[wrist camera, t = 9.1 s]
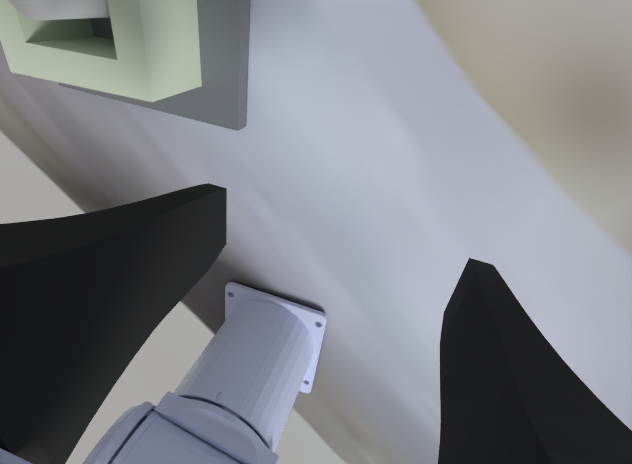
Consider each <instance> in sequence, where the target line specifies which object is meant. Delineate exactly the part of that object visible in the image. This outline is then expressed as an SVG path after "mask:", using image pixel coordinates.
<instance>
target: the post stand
mask: <svg viewBox="0 0 632 464" xmlns="http://www.w3.org/2000/svg"><path fill="white" fill-rule="evenodd" d="M9 1H10V3H11V4H12V5H13V6H14V7H15V8H16V9H17V10H18V11H19V12H20V13H22V14H23V15H25V16H26V17H28V18H30V19H33V20H60V19H85V18H91V23H92V28H93V33H94V36H95V37H101V38H106V39H112V40H114V37H113V31H112V25H111V19H110V13H109V7H108V1H107V0H9ZM197 13H198V30H199V47H200V64H201V81H202V86H201V87H197V88H194V89H191V90H188V91H185V92H182V93H179V94H176V95H173V96H170V97H167V98H164V99H161V100H158V101H155V102H149V101H144V100H139V99H135V98H130V97H125V96H121V95H116V94H111V93H107V92H102V91H97V90H93V89H88V88H83V87H79V86H74V85H69V84H65V83H60V82H58V83H59V85H60V86H64V87H68V88H72V89H76V90H80V91H84V92H87V93H91V94H95V95H99V96H103V97H107V98H111V99H115V100H119V101H123V102H127V103H131V104H135V105H139V106H143V107H147V108H151V109H154V110H158V111H162V112H166V113H170V114H174V115H178V116H182V117H186V118H190V119H194V120H198V121H202V122H206V123H210V124H214V125H218V126H221V127H225V128H229V129H233V130H237V131H238V130H240V129H241V128H243V127H245V126H246V113H247V83H248V53H249V24H250V0H197Z"/></svg>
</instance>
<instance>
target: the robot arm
mask: <svg viewBox="0 0 632 464" xmlns="http://www.w3.org/2000/svg"><path fill="white" fill-rule="evenodd" d="M225 245H226V188H223V187H219V186H216V185H212V184H209V183H208V184H202V185H197V186H193V187H189V188H185V189H182V190H178V191H175V192H171V193H167V194H164V195H160V196H157V197H153V198H149V199H146V200H142V201H138V202H134V203H130V204H126V205H122V206H118V207H114V208H109V209H105V210H100V211H96V212H90V213H85V214H79V215H74V216H67V217H61V218H55V219H45V220H37V221H27V222H18V223H9V224H0V464H65V463H66V461H67V459H68V458H69V456H70V455H71V453H72V451H73V449H74V448H75V446H76V444H77V443H78V441H79V440H80V438H81V436H82V435H83V433H84V431H85V430H86V428H87V426H88V425H89V423H90V421H91V420H92V418H93V417H94V415H95V414H96V412H97V411H98V409H99V408H100V406H101V405H102V403H103V401H104V400H105V398H106V397H107V395H108V394H109V392H110V391H111V389H112V387H113V386H114V384H115V383H116V382H117V380H118V379H119V377H120V376H121V375H122V373H123V372H124V370H125V369H126V367H127V366H128V365H129V363H130V362H131V360H132V359H133V357H134V356H135V355H136V353H137V352H138V351H139V349H140V348H141V347H142V345H143V344H144V343H145V341H146V340H147V338H148V337H149V336H150V334H151V333H152V332H153V330H154V329H155V328H156V327H157V326H158V324H159V323H160V322H161V321H162V320H163V319H164V317H165V316H166V315H167V314H168V313H169V312H170V311H171V310H172V309H173V308H174V306H176V304H177V303H178V302H179V301H180V300H181V299H182V298H183V297H184V296H185V295H186V294H187V293H188V291H189V290H190V289H191V288H192V287H193V286H194V285H195V284H196V283H197V282H198V281H199V279H200V278H201V277H202V276H203V275H204V274H205V273H206V272H207V270H208V269H209V268H210V267H211V265H212V264H213V263H214V261H215V260H216V258H217V257H218V255H219V254H220V252H221V251H222V249H223V248H224V246H225ZM232 293H233V294H232ZM318 322H319V323H318ZM326 322H327V316H326V314H325V313H323V312H321V311H318V310H315V309H312V308H309V307H306V306H303V305H300V304H297V303H294V302H291V301H288V300H285V299H282V298H279V297H276V296H273V295H270V294H267V293H264V292H261V291H258V290H255V289H252V288H249V287H246V286H243V285H240V284H237V283H234V282H229V283H227V285H226V286H225V322H224V323H223V325H222V326H221V327H220V329H219V330H218V332H217V333H216V334H215V336H214V337H213V338H212V340H211V341H210V343H209V344H208V345H207V347H206V348H205V350H204V351H203V352H202V354H201V355H200V357H199V358H198V359H197V361H196V362H195V363H194V365H193V366H192V368H191V369H190V371H189V372H188V373H187V375H186V376H185V377H184V379H183V380H182V381H181V383H180V384H179V386H178V387H177V388H176V390H175V391H174V393H171V392H167V393H166V394H165V396H164V397H163V398H162V400H161V401H160V403H159V404H158V405H157V407H156V406H154V405H153V404H152V403H150V402H144V403H142V404H141V405H138V406H135V407H132V408H130V409H129V410H127V411H126V412H125V413H124V414H123V415H122V416H121V417H120V418H119V419H118V420H117V421H116V422H115V423H114V424H113V425H112V426H111V428H110V429H109V430H108V431H107V432H106V433H105V435H104V436H103V437H102V438H101V440H100V441H99V442H98V444H97V445H96V446H95V447H94V449H93V450H92V452H91V453H90V454H89V455H88V457H87V458H86V460H85V461H84V463H83V464H277V462H278V459H279V456H278V455H277V454H275V453H274V451H275V449H276V446H277V444H278V441H279V439H280V436H281V434H282V431H283V429H284V426H285V424H286V421H287V419H288V416H289V414H290V411H291V409H292V406H293V404H294V401H295V399H296V396H297V394H298V391H301V392H304V393H310V392H311V389H312V385H313V381H314V376H315V372H316V367H317V363H318V358H319V354H320V349H321V345H322V340H323V336H324V331H325V327H326ZM320 323H321V324H320ZM440 399H441V431H440V447H439V458H438V464H632V431H631V430H630V429H629V428H628V427H627V426H626V425H625V424H624V423H623V422H622V421H621V420H620V419H618V418H617V417H616V416H615V415H614V414H613V413H612V412H611V411H610V410H609V409H608V408H607V407H606V406H605V405H604V404H603V403H602V402H601V401H600V400H599V399H598V398H597V397H596V396H595V395H594V394H593V392H592V391H591V390H590V389H589V388H588V387H587V386H586V385H585V384H584V383H583V382H582V381H581V380H580V378H579V377H578V376H577V375H576V374H575V373H574V372H573V371H572V370H571V369H570V368H569V366H568V365H567V364H566V363H565V362H564V361H563V359H562V358H561V357H560V356H559V355H558V353H557V352H556V351H555V350H554V348H553V347H552V346H551V345H550V343H549V342H548V341H547V340H546V339H545V337H544V336H543V335H542V333H541V332H540V331H539V329H538V328H537V327H536V326H535V324H534V323H533V321H532V320H531V319H530V317H529V316H528V315H527V313H526V312H525V310H524V309H523V308H522V306H521V305H520V303H519V302H518V300H517V299H516V297H515V296H514V295H513V293H512V292H511V290H510V289H509V287H508V286H507V284H506V283H505V281H504V280H503V278H502V277H501V275H500V274H499V272H498V271H497V270H496V268H495V267H494V266H493V265H492V264H488V263H485V262H481V261H478V260H474V259H471V258H469V260H468V262H467V264H466V266H465V268H464V271H463V273H462V275H461V277H460V279H459V281H458V283H457V286H456V288H455V290H454V292H453V294H452V296H451V298H450V301H449V303H448V305H447V307H446V309H445V311H444V316H443V323H442V331H441V340H440Z"/></svg>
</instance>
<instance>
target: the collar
mask: <svg viewBox="0 0 632 464" xmlns="http://www.w3.org/2000/svg"><path fill="white" fill-rule="evenodd" d="M107 1H108V7H109V13H110V19H111V25H112V31H113V37H114V40H112V39H106V38H101V37H95V36H94V33H93V28H92V23H91V18H85V19H60V20H33V19H30V18H28V17H26V16H25V15H23V14H22V13H20V12H19V11H18V10H17V9H16V8H15V7H14V6H13V5H12V4H11V3H10V1H9V0H0V40H1V43H2V46H3V49H4V52H5V56H6V59H7V62H8V65H9V68H10V71H11V72H13V73H18V74H23V75H27V76H32V77H37V78H41V79H46V80H51V81H55V82H60V83H65V84H69V85H74V86H79V87H83V88H88V89H93V90H97V91H102V92H107V93H111V94H116V95H121V96H125V97H130V98H135V99H139V100H144V101H149V102H155V101H158V100H161V99H164V98H167V97H170V96H173V95H176V94H179V93H182V92H185V91H188V90H191V89H194V88H197V87H201V86H202V81H201V64H200V47H199V30H198V13H197V0H107Z"/></svg>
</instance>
